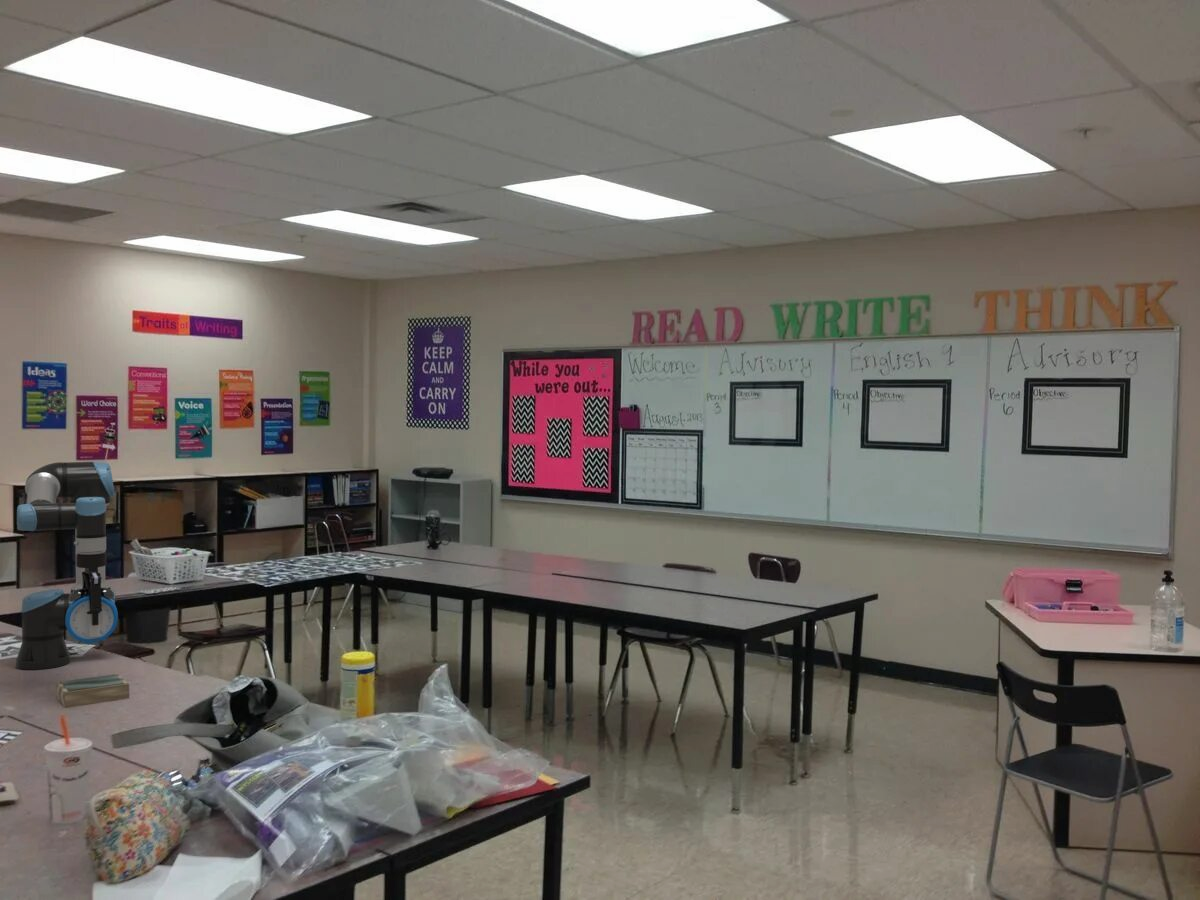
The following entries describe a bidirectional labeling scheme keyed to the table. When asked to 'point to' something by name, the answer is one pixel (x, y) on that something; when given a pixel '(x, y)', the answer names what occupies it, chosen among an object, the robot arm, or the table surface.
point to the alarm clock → (80, 619)
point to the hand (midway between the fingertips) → (92, 634)
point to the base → (92, 690)
